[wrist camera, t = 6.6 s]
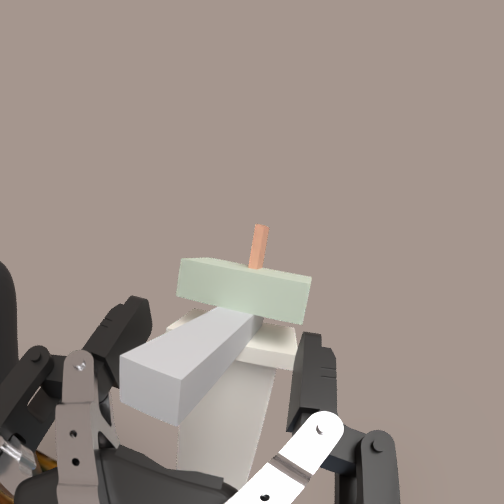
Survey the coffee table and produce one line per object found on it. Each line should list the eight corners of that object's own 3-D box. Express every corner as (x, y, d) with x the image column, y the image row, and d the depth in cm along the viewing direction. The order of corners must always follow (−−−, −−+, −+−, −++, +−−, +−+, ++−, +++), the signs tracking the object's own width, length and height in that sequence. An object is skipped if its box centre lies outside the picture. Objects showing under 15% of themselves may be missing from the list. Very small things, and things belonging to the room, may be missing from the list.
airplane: (63, 368, 8) (78, 175, 8) (201, 309, 23) (216, 219, 22) (268, 454, 7) (325, 199, 7) (300, 331, 21) (319, 236, 21)
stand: (160, 551, 17) (159, 325, 16) (173, 522, 23) (188, 306, 22) (232, 568, 17) (307, 356, 16) (238, 538, 23) (300, 328, 22)
